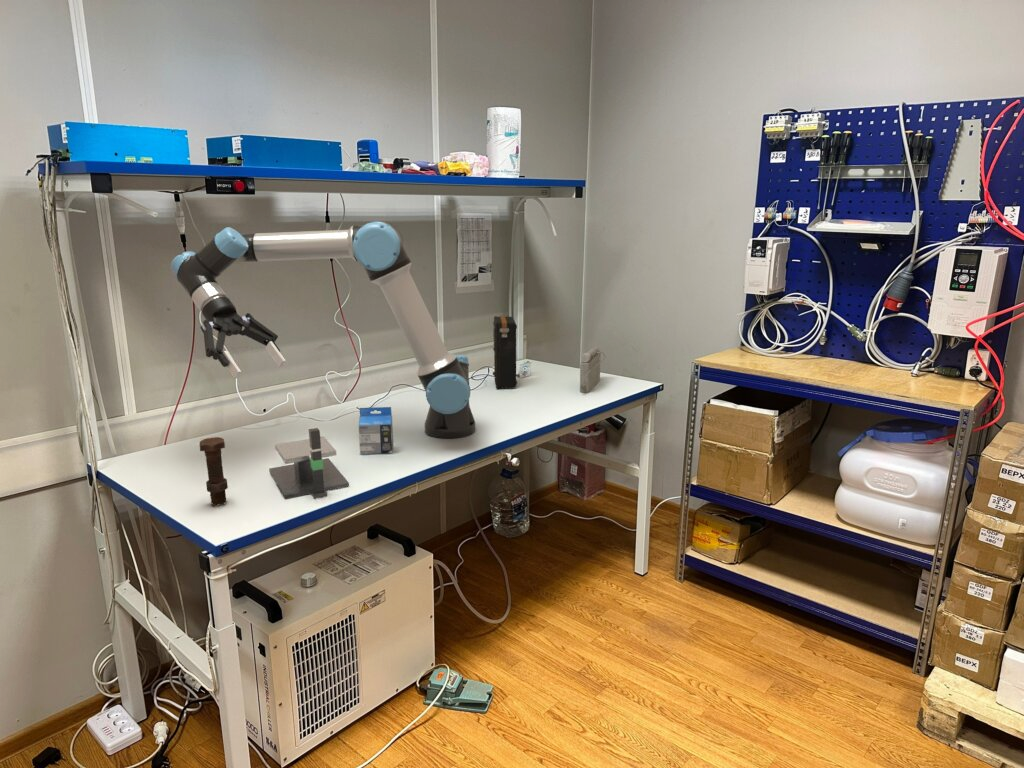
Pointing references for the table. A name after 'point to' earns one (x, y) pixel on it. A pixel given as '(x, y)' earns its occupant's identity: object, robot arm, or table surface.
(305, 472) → the stand
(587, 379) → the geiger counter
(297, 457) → the pan
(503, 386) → the black case
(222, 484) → the bolt
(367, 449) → the label tape box
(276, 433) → the table surface
